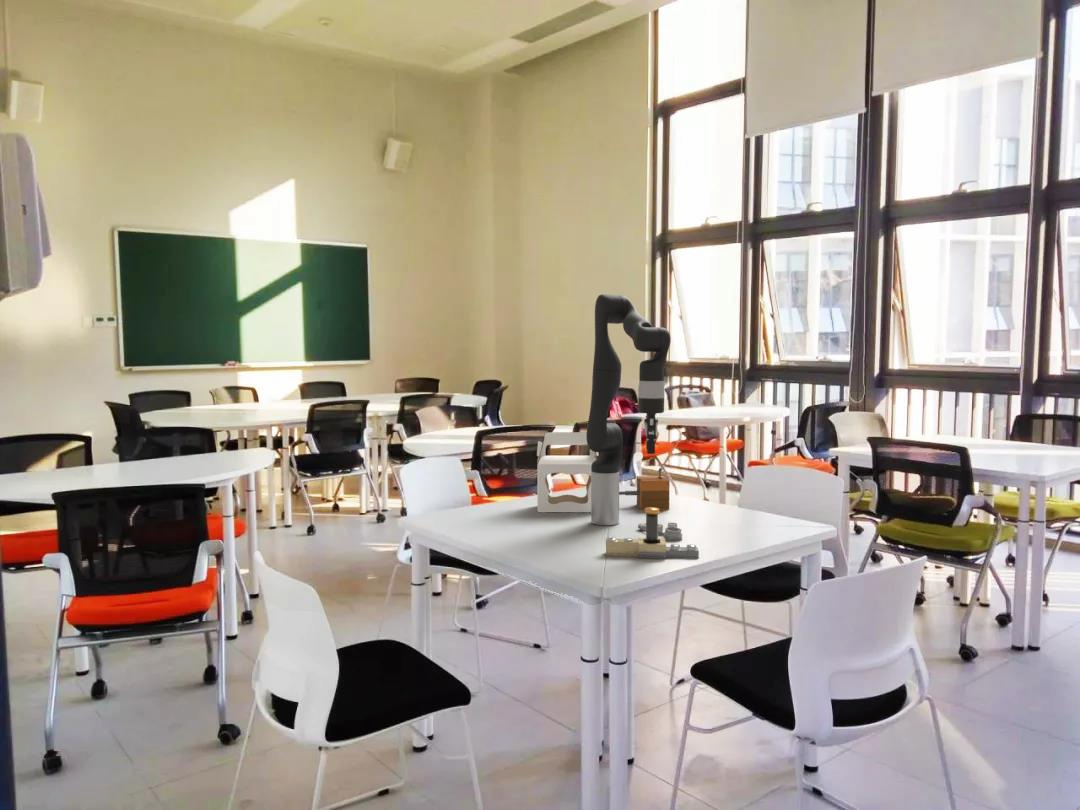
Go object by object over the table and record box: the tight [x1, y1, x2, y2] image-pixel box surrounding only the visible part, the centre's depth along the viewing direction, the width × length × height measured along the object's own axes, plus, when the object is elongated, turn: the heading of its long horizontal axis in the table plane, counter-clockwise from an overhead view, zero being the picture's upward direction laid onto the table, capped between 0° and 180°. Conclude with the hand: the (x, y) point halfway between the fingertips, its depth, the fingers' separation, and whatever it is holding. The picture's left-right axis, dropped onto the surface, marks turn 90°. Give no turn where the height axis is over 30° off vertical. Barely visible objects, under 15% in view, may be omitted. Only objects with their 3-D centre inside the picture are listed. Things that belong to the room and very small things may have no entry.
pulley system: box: [637, 522, 683, 542], centre depth 247 cm, size 27×5×15 cm
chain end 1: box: [605, 537, 667, 558], centre depth 227 cm, size 8×17×4 cm, turn 84°
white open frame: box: [536, 431, 600, 513], centre depth 291 cm, size 22×13×28 cm, turn 89°
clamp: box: [619, 468, 670, 511], centre depth 294 cm, size 11×20×14 cm, turn 93°
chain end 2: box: [637, 543, 700, 560], centre depth 226 cm, size 8×17×3 cm, turn 84°
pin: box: [644, 507, 660, 543], centre depth 226 cm, size 4×4×13 cm
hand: (650, 451), depth 235 cm, fingers open, 8 cm apart
